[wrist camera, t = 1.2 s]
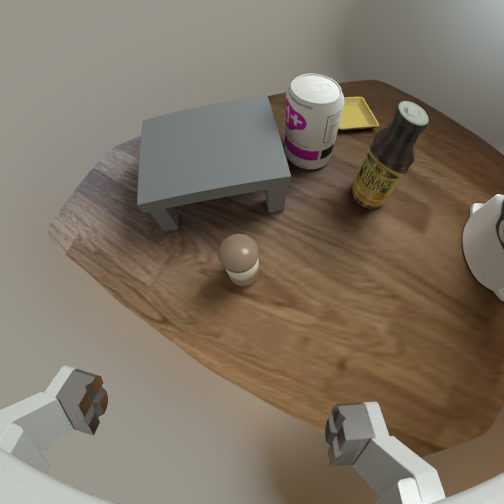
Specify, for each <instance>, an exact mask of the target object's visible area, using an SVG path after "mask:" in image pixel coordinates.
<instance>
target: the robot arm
mask: <svg viewBox="0 0 504 504" xmlns="http://www.w3.org/2000/svg"><path fill="white" fill-rule="evenodd" d="M463 250H464V255H465V258H466V261H467V264H468V266H469V268H470V270H471V272H472V273H473V275H474V276H475V278H476V279H477V280H478V281H479V282H480V283H481V284H482V285H483V286H485V287H487V288H488V289H490V290H492V291H493V292H494V293H495V294H496V295H497V297H498V298H499V299H500V300H501V301H504V195H500V194H497V195H495V196H494V197H493V198H492V199H490V200H489V201H488V202H487V203H485V204H479V203H475V204H473V205H472V206H471V207H470V218H469V220H468V222H467V224H466V225H465V228H464V232H463ZM102 384H103V381H102V378H101V376H98V375H94V374H91V373H88V372H85V371H82V370H79V369H76V368H73V367H70V366H67V365H65V366H63V367H62V368H61V369H60V371H59V372H58V373H57V375H56V376H55V378H54V379H53V380H52V382H51V383H50V385H49V386H48V388H47V389H46V390H45V392H44V393H42V392H40V393H38V394H35V395H33V396H31V397H29V398H27V399H25V400H22V401H20V402H18V403H16V404H13V405H11V406H9V407H7V408H5V409H2V410H0V504H119V503H116V502H113V501H110V500H107V499H104V498H101V497H99V496H96V495H93V494H91V493H88V492H85V491H83V490H80V489H78V488H76V487H73V486H71V485H69V484H67V483H64V482H62V481H60V480H58V479H56V478H54V477H52V476H50V475H48V474H46V471H47V470H48V467H49V462H48V461H47V459H46V458H45V457H44V456H43V455H42V453H43V452H44V451H46V450H47V449H48V448H50V447H51V446H53V445H54V444H56V443H57V442H59V441H60V440H62V439H63V438H64V437H66V436H67V435H69V434H70V433H72V432H73V431H74V429H75V430H79V431H81V432H84V433H87V434H91V435H94V434H95V432H96V430H97V427H98V425H99V423H100V421H99V418H98V417H99V416H101V415H103V414H104V413H105V411H106V408H107V404H108V395H107V392H106V390H105V389H103V387H102ZM332 414H333V415H332V416H330V417H329V418H328V420H327V423H326V428H325V437H326V442H327V443H328V444H329V445H330V448H329V450H328V457H329V464H330V466H345V465H353V467H354V468H355V470H356V471H357V472H358V473H359V474H360V475H361V476H362V478H363V479H364V480H365V481H366V482H367V483H368V484H369V485H370V487H372V489H373V490H374V491H375V492H376V493H377V494H378V495H379V496H380V499H379V500H378V501H376V502H375V503H374V504H504V472H503V473H501V474H499V475H497V476H495V477H493V478H491V479H489V480H487V481H485V482H483V483H481V484H479V485H476V486H474V487H472V488H470V489H467V490H465V491H462V492H460V493H458V494H455V495H453V496H450V497H447V498H446V497H445V494H444V491H443V488H442V485H441V482H440V479H439V476H438V474H437V471H436V469H434V468H433V467H432V466H430V465H429V464H428V463H427V462H425V461H424V460H423V459H421V458H420V457H419V456H418V455H416V454H415V453H414V452H412V451H411V450H410V449H409V448H407V447H406V446H405V445H404V444H402V443H401V442H400V441H399V440H397V439H396V438H395V437H394V436H389V433H388V430H387V427H386V424H385V422H384V419H383V416H382V413H381V410H380V407H379V404H378V403H377V402H363V403H362V402H358V403H339V404H335V405H334V406H333V408H332Z"/></svg>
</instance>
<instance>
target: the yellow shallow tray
mask: <svg viewBox="0 0 504 504" xmlns="http://www.w3.org/2000/svg"><path fill="white" fill-rule="evenodd" d="M377 126H379V124H378V122H377V120H376V118H375V117H374V115H373V113H372V112H371V110H370V108H369V107H368V105H367V103H366V102H365V100H364V98H362V97H346V98H344V106H343V110H342V115H341V119H340V123H339V129H340V130H353V129H365V128H374V127H377Z"/></svg>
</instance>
